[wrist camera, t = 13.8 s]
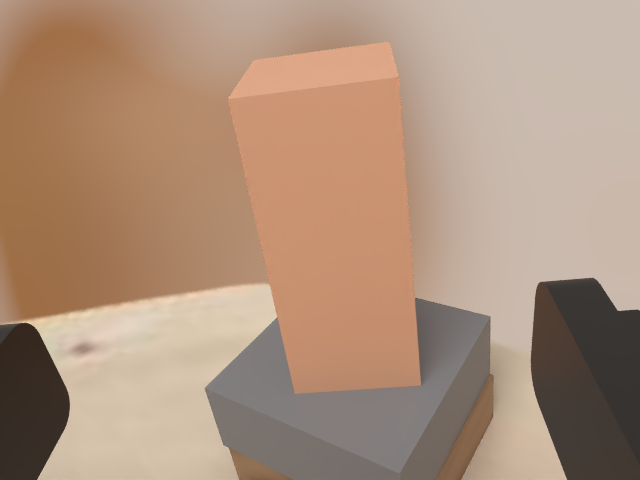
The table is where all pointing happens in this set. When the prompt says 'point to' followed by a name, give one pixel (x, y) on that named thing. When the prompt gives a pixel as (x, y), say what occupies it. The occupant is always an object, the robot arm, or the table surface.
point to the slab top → (356, 406)
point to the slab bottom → (258, 476)
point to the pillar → (333, 213)
